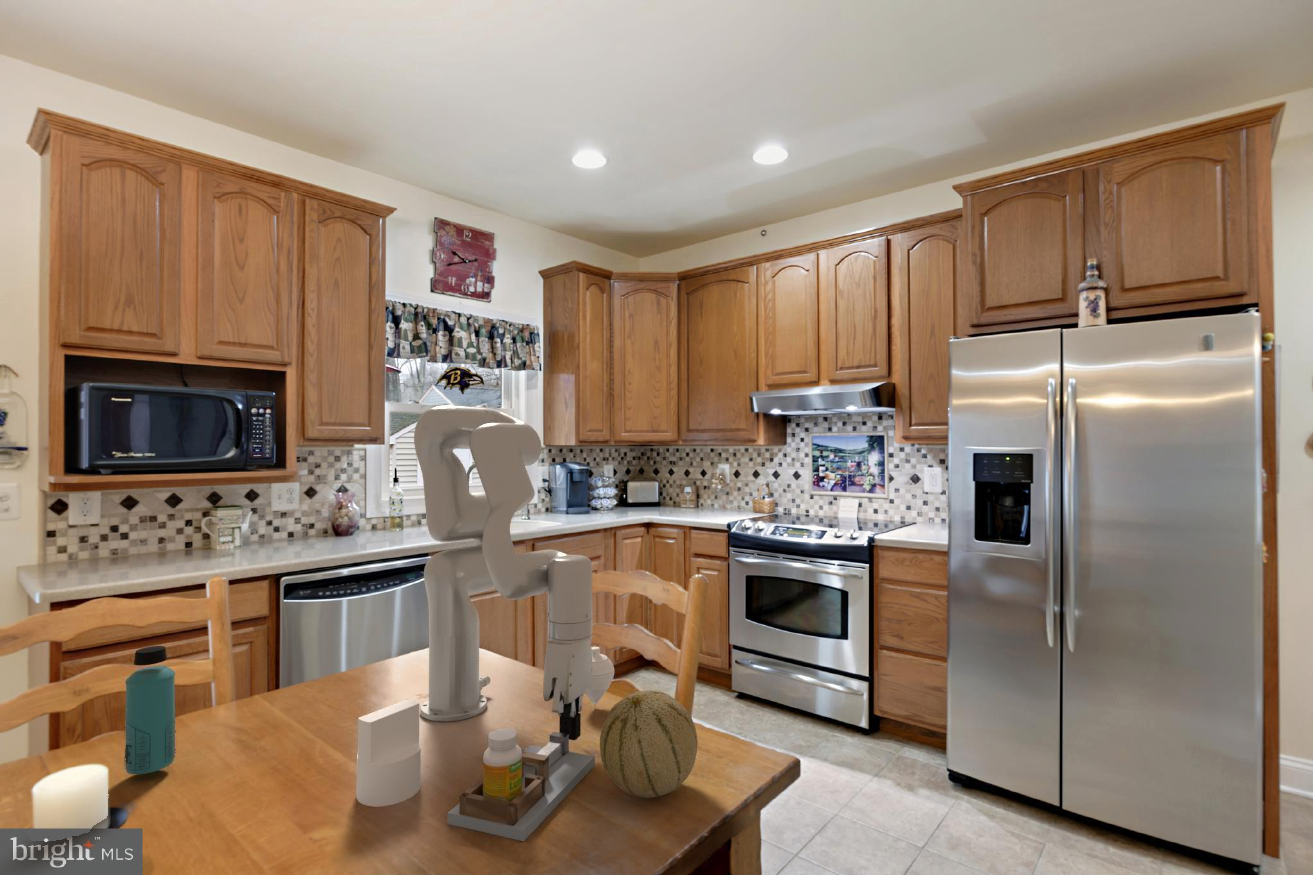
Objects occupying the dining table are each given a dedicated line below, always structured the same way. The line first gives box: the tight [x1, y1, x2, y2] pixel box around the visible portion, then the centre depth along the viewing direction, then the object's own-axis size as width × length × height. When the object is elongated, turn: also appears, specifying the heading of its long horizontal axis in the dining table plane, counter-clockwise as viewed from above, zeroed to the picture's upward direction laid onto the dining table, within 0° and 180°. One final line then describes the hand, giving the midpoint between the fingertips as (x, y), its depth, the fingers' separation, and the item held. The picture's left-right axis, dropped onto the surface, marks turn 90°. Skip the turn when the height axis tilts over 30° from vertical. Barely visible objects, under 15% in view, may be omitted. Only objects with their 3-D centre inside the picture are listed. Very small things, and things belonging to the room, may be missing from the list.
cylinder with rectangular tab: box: [355, 699, 422, 808], centre depth 99 cm, size 9×9×12 cm
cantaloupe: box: [599, 689, 699, 799], centre depth 99 cm, size 15×15×15 cm
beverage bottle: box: [123, 645, 177, 775], centre depth 104 cm, size 6×7×20 cm
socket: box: [458, 774, 545, 826], centre depth 92 cm, size 8×8×2 cm
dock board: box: [446, 744, 596, 842], centre depth 98 cm, size 22×12×5 cm, turn 160°
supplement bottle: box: [482, 727, 523, 802], centre depth 92 cm, size 5×5×10 cm
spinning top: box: [584, 646, 615, 709], centre depth 130 cm, size 8×8×12 cm
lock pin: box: [523, 731, 570, 778], centre depth 104 cm, size 10×3×3 cm, turn 160°
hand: (570, 737), depth 111 cm, fingers closed
